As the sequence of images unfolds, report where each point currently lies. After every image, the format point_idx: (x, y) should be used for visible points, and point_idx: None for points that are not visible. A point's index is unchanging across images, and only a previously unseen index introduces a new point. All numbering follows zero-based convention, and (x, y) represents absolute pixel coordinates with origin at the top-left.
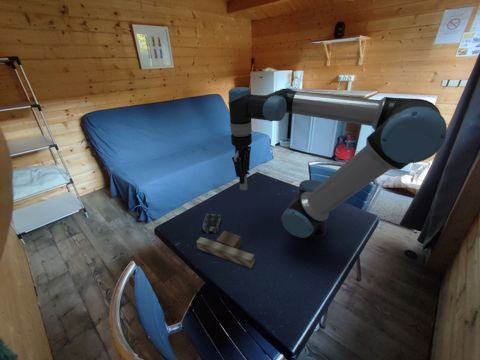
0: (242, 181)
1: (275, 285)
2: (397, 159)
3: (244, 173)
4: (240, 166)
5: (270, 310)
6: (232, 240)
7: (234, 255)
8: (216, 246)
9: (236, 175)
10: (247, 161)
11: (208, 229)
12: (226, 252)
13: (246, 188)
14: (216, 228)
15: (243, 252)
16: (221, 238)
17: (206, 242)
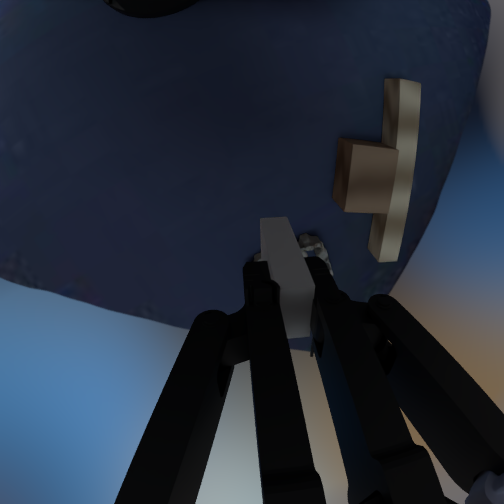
0: (328, 275)
1: (421, 19)
2: None
3: (338, 314)
4: (478, 394)
5: (466, 30)
6: (378, 163)
7: (416, 136)
8: (402, 200)
9: (385, 347)
10: (204, 412)
11: (325, 262)
12: (413, 162)
13: (277, 221)
14: (315, 243)
15: (403, 113)
16: (379, 201)
17: (394, 234)
